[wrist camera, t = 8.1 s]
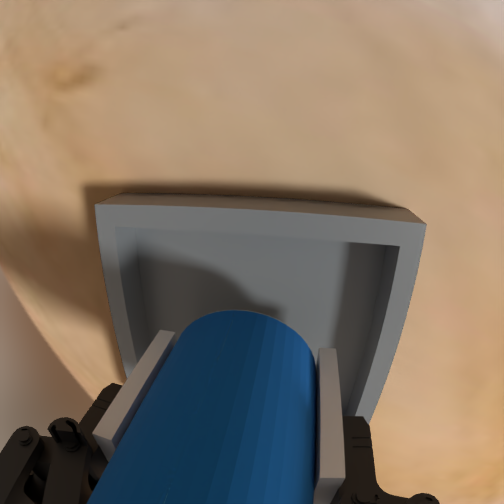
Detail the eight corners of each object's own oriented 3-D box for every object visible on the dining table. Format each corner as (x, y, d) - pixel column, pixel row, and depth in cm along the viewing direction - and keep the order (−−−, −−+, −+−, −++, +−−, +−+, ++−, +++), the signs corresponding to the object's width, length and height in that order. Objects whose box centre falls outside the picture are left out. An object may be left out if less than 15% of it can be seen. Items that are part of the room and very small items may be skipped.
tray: (121, 193, 16) (94, 204, 13) (408, 209, 14) (426, 224, 11) (152, 395, 21) (139, 419, 18) (355, 418, 19) (358, 447, 16)
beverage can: (164, 370, 16) (60, 568, 5) (209, 274, 13) (40, 562, 2) (274, 419, 16) (236, 626, 5) (343, 340, 14) (357, 629, 2)
